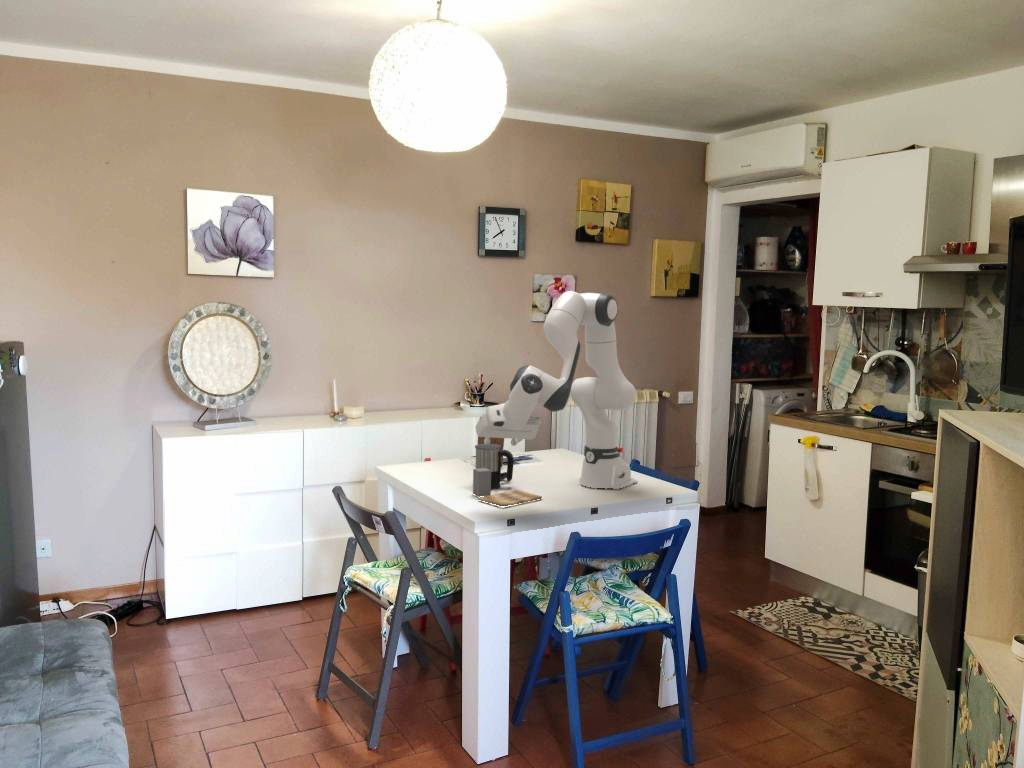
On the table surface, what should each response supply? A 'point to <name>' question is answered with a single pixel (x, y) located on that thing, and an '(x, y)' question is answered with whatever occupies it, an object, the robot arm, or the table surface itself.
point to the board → (510, 498)
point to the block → (493, 441)
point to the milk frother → (494, 462)
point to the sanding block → (482, 482)
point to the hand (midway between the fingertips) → (499, 443)
